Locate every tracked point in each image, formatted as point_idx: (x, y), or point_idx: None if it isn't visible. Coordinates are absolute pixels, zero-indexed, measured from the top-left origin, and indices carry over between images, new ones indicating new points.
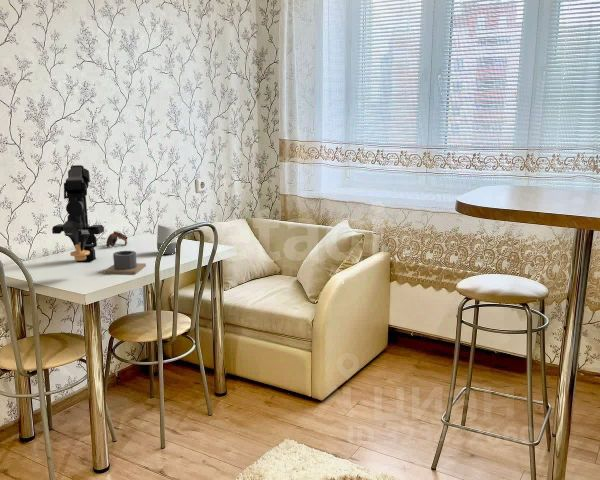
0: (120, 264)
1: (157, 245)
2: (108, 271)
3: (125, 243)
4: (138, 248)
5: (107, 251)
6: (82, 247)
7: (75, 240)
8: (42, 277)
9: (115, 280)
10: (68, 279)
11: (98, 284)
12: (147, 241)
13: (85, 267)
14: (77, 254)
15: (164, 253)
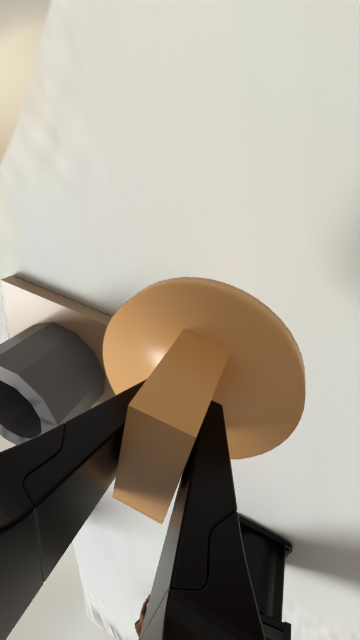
0: (47, 341)
1: None
2: None
3: (145, 602)
4: (110, 556)
5: None
6: (124, 392)
7: (173, 547)
8: None
9: (56, 181)
10: (333, 269)
11: (120, 92)
12: (106, 590)
13: (245, 459)
14: (202, 288)
15: None
